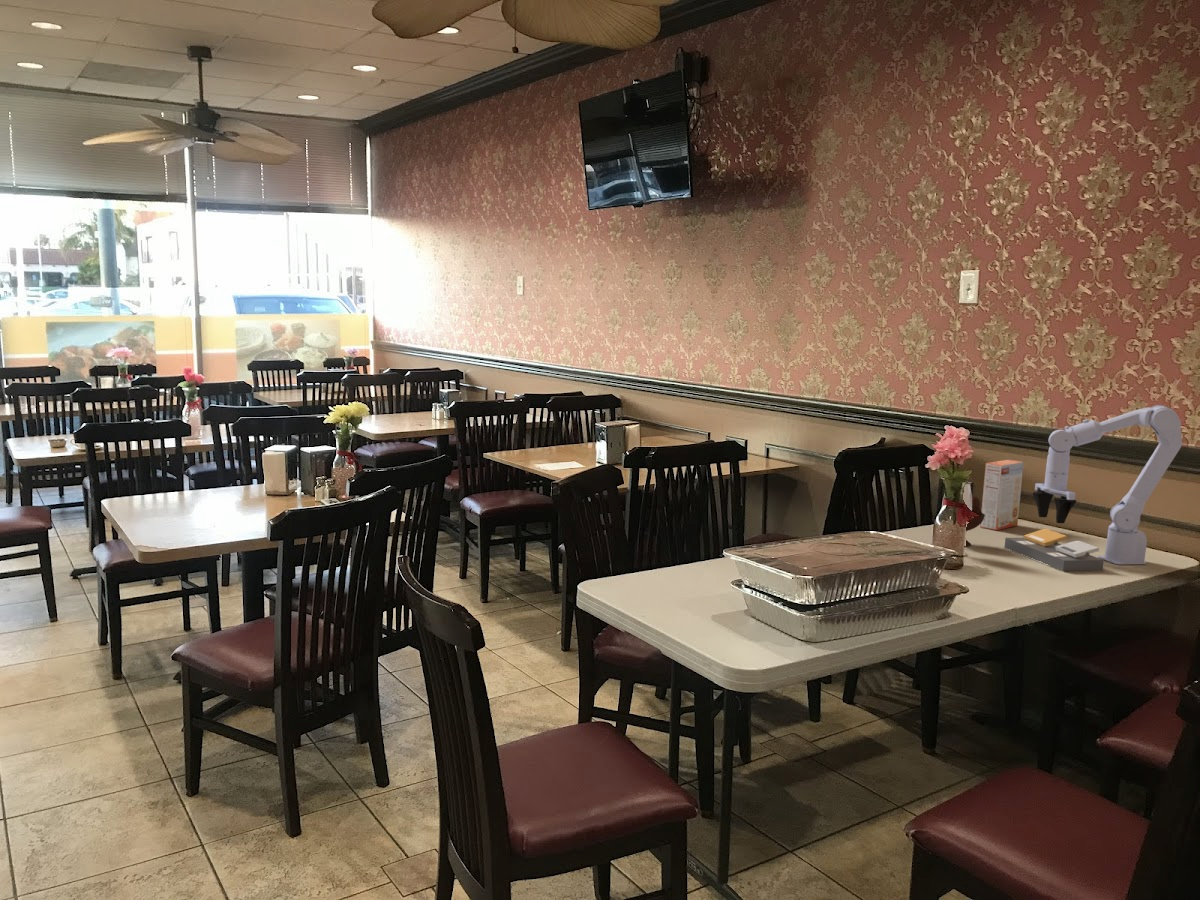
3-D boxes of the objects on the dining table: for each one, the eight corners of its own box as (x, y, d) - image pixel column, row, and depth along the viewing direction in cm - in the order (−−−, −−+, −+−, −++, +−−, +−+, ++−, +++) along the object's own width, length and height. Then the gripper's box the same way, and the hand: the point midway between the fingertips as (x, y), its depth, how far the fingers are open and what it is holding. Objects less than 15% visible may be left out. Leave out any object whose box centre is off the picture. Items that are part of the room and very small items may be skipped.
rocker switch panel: (1053, 547, 277) (1054, 536, 277) (1115, 570, 253) (1117, 559, 252) (1004, 547, 274) (1005, 536, 273) (1062, 571, 250) (1064, 559, 249)
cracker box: (1000, 522, 309) (1006, 458, 306) (1018, 526, 305) (1025, 461, 302) (978, 527, 300) (985, 461, 297) (996, 531, 296) (1003, 464, 293)
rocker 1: (1046, 533, 273) (1045, 528, 273) (1067, 541, 265) (1066, 535, 264) (1024, 540, 272) (1023, 535, 272) (1045, 548, 264) (1044, 542, 263)
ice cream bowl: (974, 540, 281) (979, 490, 279) (985, 550, 270) (991, 498, 268) (937, 538, 282) (942, 488, 280) (947, 547, 271) (952, 495, 269)
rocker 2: (1078, 545, 260) (1077, 540, 260) (1099, 553, 253) (1098, 547, 252) (1055, 552, 259) (1055, 546, 259) (1075, 559, 252) (1075, 553, 251)
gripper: (1027, 468, 273) (1022, 514, 275) (1061, 477, 259) (1056, 525, 261) (1049, 468, 275) (1044, 514, 277) (1084, 477, 261) (1078, 525, 263)
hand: (1051, 520), depth 269 cm, fingers open, 7 cm apart
